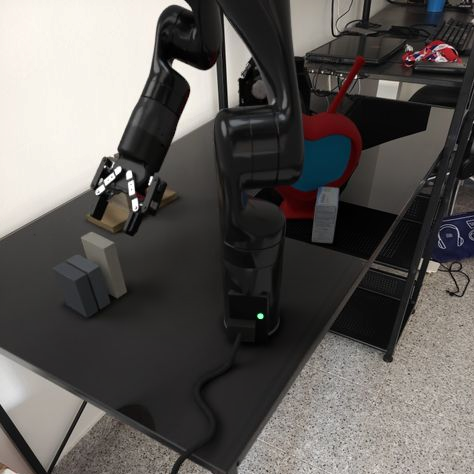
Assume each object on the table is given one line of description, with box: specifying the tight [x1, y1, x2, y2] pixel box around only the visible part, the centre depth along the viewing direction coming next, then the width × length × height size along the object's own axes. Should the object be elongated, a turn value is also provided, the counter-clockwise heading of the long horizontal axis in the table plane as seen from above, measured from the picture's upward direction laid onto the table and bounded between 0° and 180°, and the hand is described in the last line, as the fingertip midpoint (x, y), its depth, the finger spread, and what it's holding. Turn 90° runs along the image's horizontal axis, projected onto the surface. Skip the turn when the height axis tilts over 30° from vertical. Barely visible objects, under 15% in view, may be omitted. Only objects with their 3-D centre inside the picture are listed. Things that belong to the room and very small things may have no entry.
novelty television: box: [273, 55, 367, 220], centre depth 89 cm, size 21×13×30 cm, turn 87°
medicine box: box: [311, 187, 340, 245], centre depth 89 cm, size 8×4×9 cm, turn 169°
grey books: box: [51, 253, 112, 319], centre depth 74 cm, size 5×6×8 cm
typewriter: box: [237, 55, 319, 116], centre depth 112 cm, size 31×27×25 cm
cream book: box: [80, 231, 128, 299], centre depth 76 cm, size 2×6×10 cm, turn 52°
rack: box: [86, 152, 178, 234], centre depth 97 cm, size 20×9×12 cm, turn 142°
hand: (111, 226), depth 74 cm, fingers open, 8 cm apart
